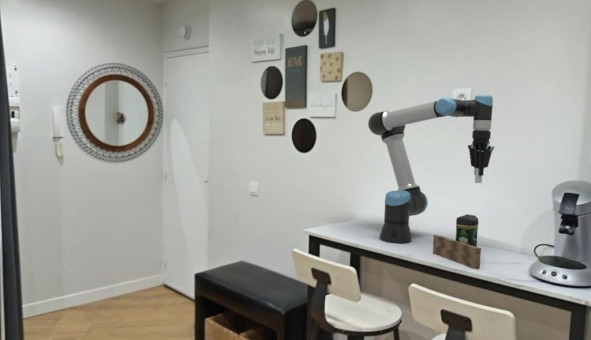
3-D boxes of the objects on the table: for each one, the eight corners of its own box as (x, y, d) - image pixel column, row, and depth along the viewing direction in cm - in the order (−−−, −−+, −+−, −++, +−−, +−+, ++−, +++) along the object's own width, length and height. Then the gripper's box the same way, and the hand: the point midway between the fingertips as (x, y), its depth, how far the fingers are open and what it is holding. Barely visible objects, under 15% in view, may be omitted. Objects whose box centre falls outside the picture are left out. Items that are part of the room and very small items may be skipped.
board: (432, 253, 197) (433, 235, 196) (436, 252, 198) (437, 234, 197) (475, 269, 175) (477, 248, 175) (479, 268, 176) (481, 248, 175)
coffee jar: (459, 255, 196) (462, 212, 194) (478, 258, 190) (481, 215, 189) (451, 259, 188) (453, 215, 187) (470, 263, 183) (473, 217, 182)
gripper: (499, 130, 198) (496, 184, 200) (476, 130, 210) (473, 181, 212) (487, 130, 195) (483, 184, 197) (464, 129, 207) (461, 181, 209)
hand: (478, 182), depth 204 cm, fingers closed
